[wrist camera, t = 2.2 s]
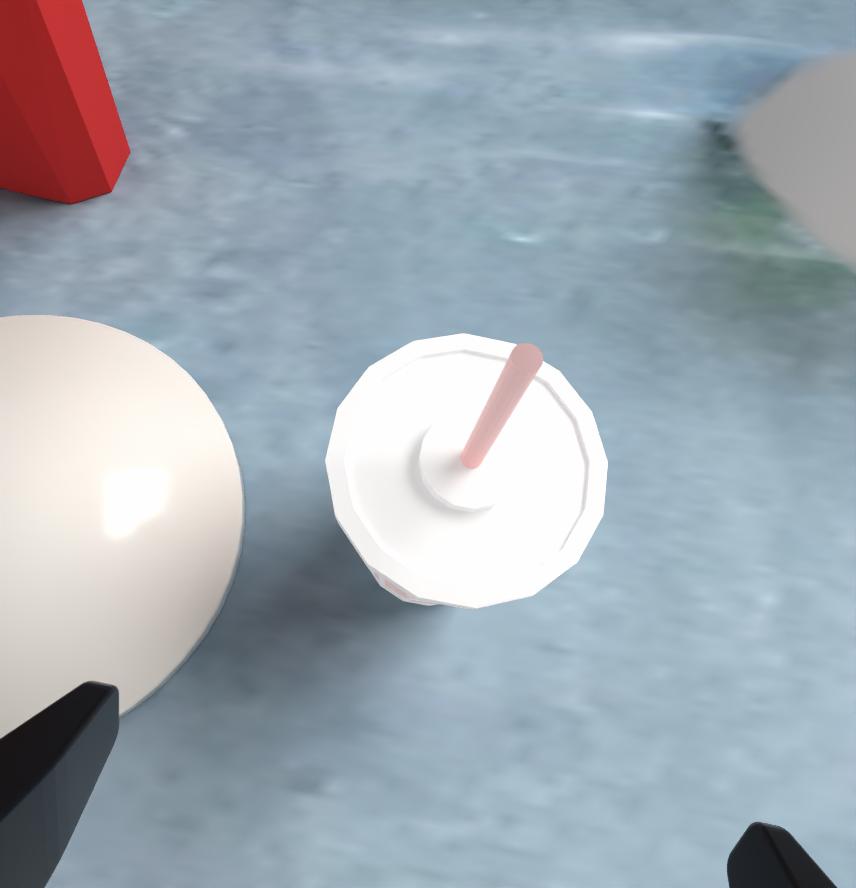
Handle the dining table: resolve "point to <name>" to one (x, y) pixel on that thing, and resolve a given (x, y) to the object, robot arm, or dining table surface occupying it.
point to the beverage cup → (466, 471)
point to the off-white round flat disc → (106, 514)
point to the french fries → (55, 104)
